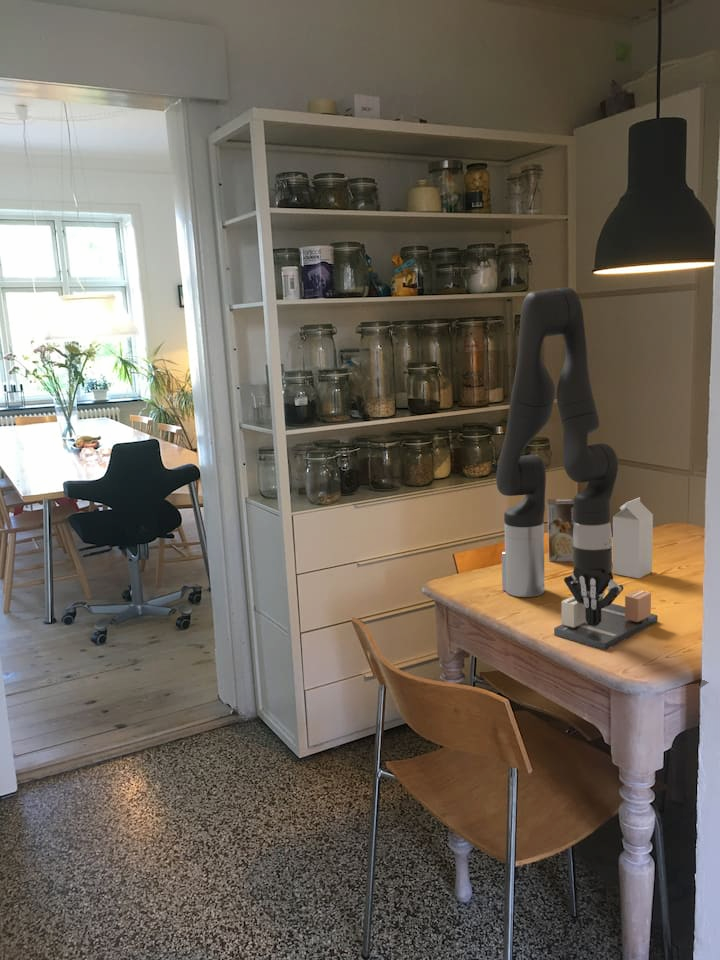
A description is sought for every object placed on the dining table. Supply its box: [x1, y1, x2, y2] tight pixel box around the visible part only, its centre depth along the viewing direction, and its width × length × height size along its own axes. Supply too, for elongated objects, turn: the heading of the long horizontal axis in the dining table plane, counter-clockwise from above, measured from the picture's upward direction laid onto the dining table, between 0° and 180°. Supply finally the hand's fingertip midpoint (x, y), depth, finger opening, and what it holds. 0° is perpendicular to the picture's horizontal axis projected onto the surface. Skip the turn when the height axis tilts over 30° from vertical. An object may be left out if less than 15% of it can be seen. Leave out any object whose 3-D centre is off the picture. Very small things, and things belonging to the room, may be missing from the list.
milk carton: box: [612, 497, 654, 579], centre depth 200 cm, size 7×7×19 cm
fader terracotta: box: [624, 589, 652, 622], centre depth 168 cm, size 3×5×5 cm, turn 131°
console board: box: [553, 602, 659, 651], centre depth 168 cm, size 12×20×2 cm, turn 131°
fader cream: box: [560, 595, 586, 628], centre depth 167 cm, size 3×5×5 cm, turn 131°
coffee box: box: [547, 498, 574, 562], centre depth 215 cm, size 9×6×16 cm
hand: (593, 624), depth 164 cm, fingers closed
